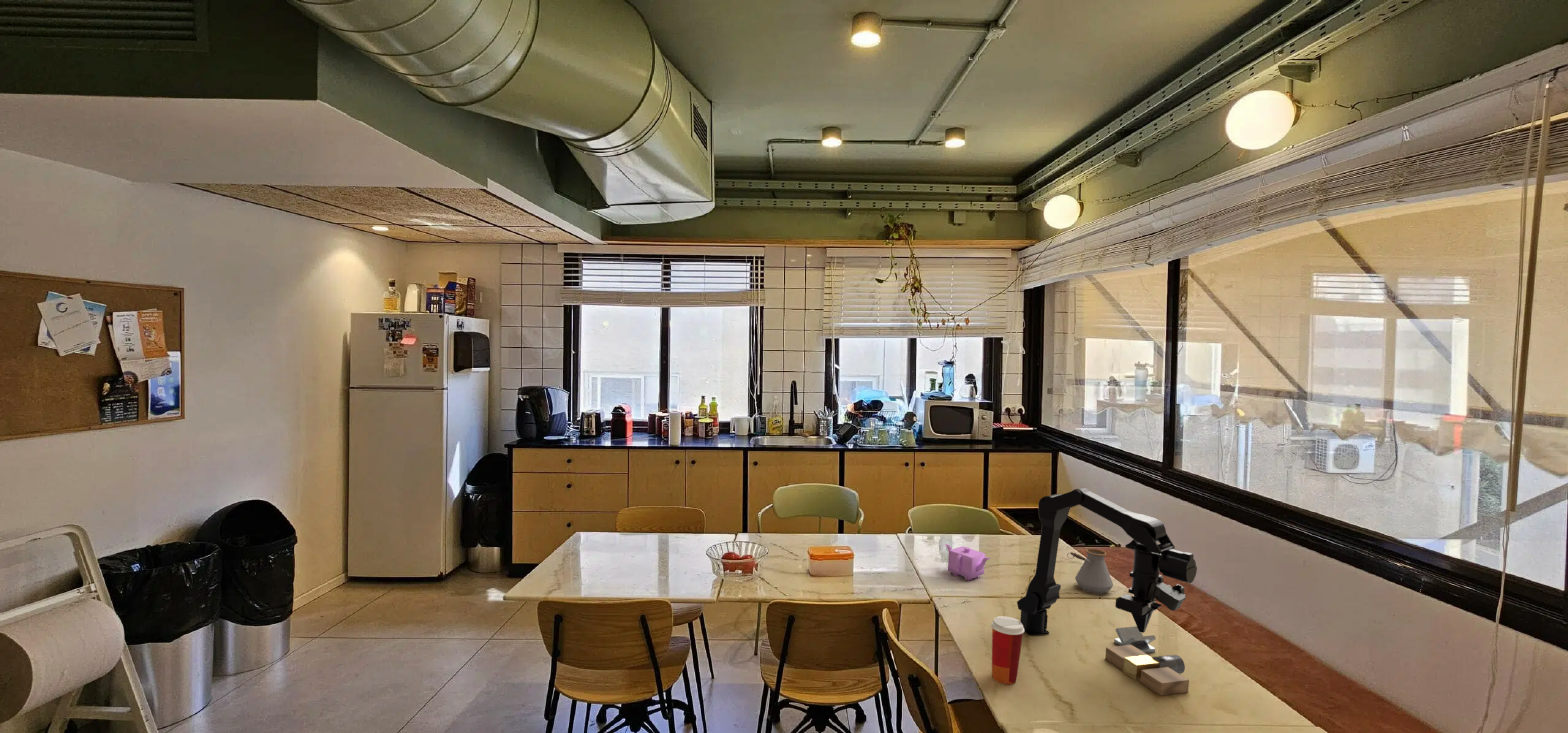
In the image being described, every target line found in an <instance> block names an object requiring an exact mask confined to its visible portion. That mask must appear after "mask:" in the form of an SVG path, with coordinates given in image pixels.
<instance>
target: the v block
mask: <svg viewBox="0 0 1568 733" xmlns="http://www.w3.org/2000/svg"><path fill="white" fill-rule="evenodd" d="M1115 632H1116V634H1117V637H1118V638H1114V640H1113V642H1114V643H1115V644H1117V646H1124V645H1133V646H1134V647H1136V648H1138V649H1139V650H1141V651H1142V652H1144V653H1146V654H1149V653H1151V654H1152V653H1156V648H1155V647H1154V646H1152V645H1150V643H1152V642H1153V641H1156V636H1155V635H1143V633H1142V632H1139V630H1138V628H1137V625H1135V626H1126V627H1116V628H1115Z"/></svg>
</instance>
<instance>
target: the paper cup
mask: <svg viewBox="0 0 1568 733" xmlns="http://www.w3.org/2000/svg"><path fill="white" fill-rule="evenodd" d="M990 628H991V630H992V632H991V634H992V636H991V638H992V639H991V675H992V676H991V677H992V679H993V680H994V681H996V682H998V683H1000V684H1002V685H1014V684H1015V683H1016V682H1017V679H1018V671H1019V664H1020V660H1021V659H1020V658H1021V650H1022V643H1023V636H1024V635H1023V634H1024V633H1025V632H1024V628H1023V625H1022V623H1021V622H1020V620H1019V619H1016V618H1015V617H1011V616H1006V615H1004V616H1002V615H1001V616H996V617H994V619H993V620H992V622H991V623H990Z"/></svg>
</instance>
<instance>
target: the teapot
mask: <svg viewBox="0 0 1568 733" xmlns="http://www.w3.org/2000/svg"><path fill="white" fill-rule="evenodd" d="M944 545H945V547H946V548H947V551H948V558H947V559H948V560H947V562H948V563H947V572H951V573H952V576H954V577H959V576H962V577H964V580H965V581H969V582H970V581H971V580H972V579H974V578H979V577H980V576H982V575H984V574H985V565H986V562H987V561H988V560H991V559H992V558H991V557H987V556H986V553H984V552H981V551H979V550H975V549H972V548H971V547H968V546H962V545H961V546H959V547H955V548H952V546H951V545H949V544H944Z"/></svg>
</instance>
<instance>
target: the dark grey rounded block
mask: <svg viewBox="0 0 1568 733" xmlns="http://www.w3.org/2000/svg"><path fill="white" fill-rule="evenodd" d="M1151 657H1152V658H1153V659H1155V660H1157V661H1158V662H1160V668H1163V667H1169V668H1170V669H1172V670H1174V671H1175V672H1177V673H1179V674H1180V675H1181V674H1183V673H1184V672H1185V669H1186V665H1185V662H1184V660H1183V658H1181V656H1180V655H1178V654H1168V655H1159V656H1158V655H1157V656H1151Z"/></svg>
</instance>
